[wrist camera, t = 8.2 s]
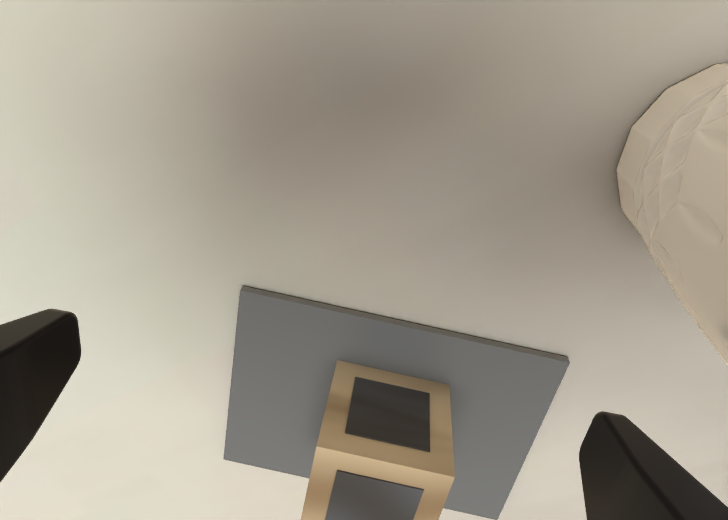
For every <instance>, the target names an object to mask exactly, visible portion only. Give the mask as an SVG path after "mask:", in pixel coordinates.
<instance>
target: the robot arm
mask: <svg viewBox="0 0 728 520" xmlns="http://www.w3.org/2000/svg"><path fill="white" fill-rule="evenodd" d="M80 357H81V345H80V336H79V327H78V320H77V317H76V315H75V314H73V313H72V312H68V311H62V310H57V309H47V310H44V311H41V312H38V313H35V314H32V315H29V316H26V317H23V318H20V319H17V320H14V321H11V322H8V323H5V324H2V325H0V482H1V481H2V479H3V478H4V477H5V475H6V474H7V473H8V471H9V470H10V469H11V467H12V466H13V465H14V464H15V462H16V461H17V460H18V458H19V457H20V456H21V454H22V453H23V452H24V450H25V449H26V447H27V446H28V445H29V443H30V442H31V440H32V439H33V437H34V436H35V434H36V433H37V431H38V430H39V428H40V427H41V425H42V423H43V422H44V420H45V418H46V417H47V415H48V413H49V412H50V410H51V408H52V407H53V405H54V403H55V402H56V400H57V399H58V397H59V395H60V394H61V392H62V390H63V389H64V387H65V385H66V384H67V382H68V380H69V379H70V377H71V375H72V374H73V372H74V370H75V369H76V367H77V365H78V363H79V361H80ZM579 462H580V469H581V477H582V485H583V492H584V500H585V507H586V515H587V520H728V507H727V506H726V505H725V504H723V503H722V502H721V501H720V500H719V499H718V498H717V497H716V496H714V495H713V494H712V493H711V492H710V491H709V490H708V489H707V488H705V487H704V486H703V485H702V484H701V483H700V482H699V481H698V480H696V479H695V478H694V477H693V476H692V475H691V474H690V473H689V472H687V471H686V470H685V469H684V468H683V467H682V466H681V465H680V464H678V463H677V462H676V461H675V460H674V459H673V458H672V457H671V456H669V455H668V454H667V453H666V452H665V451H664V450H663V449H662V448H660V447H659V446H658V445H657V444H656V443H655V442H654V441H653V440H651V439H650V438H649V437H648V436H647V435H646V434H645V433H643V432H642V431H641V430H640V429H639V428H638V427H637V426H636V425H634V424H633V423H632V422H631V421H630V420H629V419H628V418H626V417H625V416H623V415H619V414H614V413H609V412H603V411H602V412H599V413H597V414H596V415H595V417H594V418H593V420H592V423H591V425H590V427H589V429H588V431H587V434H586V436H585V438H584V440H583V442H582V445H581V448H580V453H579Z"/></svg>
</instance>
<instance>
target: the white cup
mask: <svg viewBox="0 0 728 520" xmlns="http://www.w3.org/2000/svg"><path fill="white" fill-rule="evenodd" d="M616 171H617V179H618V187H619V195H620V202H621V209H622V211H623V212H624V213H625V215H626V216H627V217H628V219H629V220H630V221H631V222H632V224H633V225H634V226H635V228H636V229H637V230H638V232H639V233H640V235H641V236H642V238H643V239H644V241H645V243H646V246H647V248H648V250H649V253H650V255H651V257H652V259H653V260H654V261H655V263H656V264H657V266H658V268H659V269H660V271H661V272H662V274H663V275H664V277H665V278H666V280H667V281H668V283H669V284H670V285H671V286H672V288H673V290H674V291H675V293H676V295H677V296H678V298H679V300H680V301H681V303H682V304H683V306H684V307H685V309H686V310H687V311H688V312H689V314H690V315H691V316H692V318H693V319H694V320H695V322H696V323H697V324H698V326H699V327H700V328H701V330H702V331H703V333H704V334H705V335H706V337H707V338H708V339H709V341H710V342H711V344H712V345H713V346H714V348H715V349H716V350H717V352H718V353H719V355H720V356H721V357H722V359H723V360H724V362H725V363H726V364H727V366H728V63H724V64H715V65H713V66H711V67H709V68H707V69H705V70H703V71H701V72H699V73H697V74H695V75H693V76H691V77H689V78H687V79H685V80H683V81H681V82H679V83H677V84H675V85H673V86H671V87H669V88H668V89H666V90H665V91H664V92H663V93H662V95H661V96H660V97H659V98H658V99H657V100H656V101H655V102H654V103H653V104H652V105H651V106H650V108H649V109H648V110H647V111H646V112H645V113H644V114H643V115H642V116H641V117H640V118H639V120H638V121H637V122H636V123H635V124H634V125H633V126H632V128H631V130H630V133H629V136H628V139H627V141H626V144H625V147H624V150H623V152H622V155H621V158H620V161H619V163H618V166H617V169H616Z"/></svg>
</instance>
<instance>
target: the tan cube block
mask: <svg viewBox="0 0 728 520" xmlns="http://www.w3.org/2000/svg"><path fill="white" fill-rule="evenodd" d="M454 478H455V471H454V455H453V438H452V422H451V405H450V388H449V385H446V384H442V383H438V382H433V381H429V380H424V379H420V378H415V377H411V376H406V375H402V374H397V373H393V372H388V371H384V370H379V369H375V368H370V367H366V366H361V365H357V364H353V363H348V362H344V361H339V360H337V363H336V368H335V372H334V376H333V380H332V384H331V388H330V392H329V396H328V401H327V405H326V409H325V413H324V417H323V421H322V425H321V429H320V434H319V438H318V442H317V446H316V451H315V455H314V460H313V465H312V469H311V474H310V479H309V484H308V488H307V493H306V498H305V502H304V507H303V512H302V517H301V520H438V519H439V517H440V514H441V512H442V509H443V506H444V504H445V501H446V499H447V496H448V494H449V491H450V489H451V486H452V483H453V481H454Z"/></svg>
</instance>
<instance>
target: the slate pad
mask: <svg viewBox="0 0 728 520" xmlns="http://www.w3.org/2000/svg"><path fill="white" fill-rule="evenodd" d="M337 360H339V361H344V362H348V363H353V364H357V365H361V366H366V367H370V368H375V369H379V370H384V371H388V372H393V373H397V374H402V375H406V376H411V377H415V378H420V379H424V380H429V381H433V382H438V383H442V384H446V385H449V388H450V405H451V422H452V438H453V455H454V471H455V478H454V481H453V483H452V486H451V489H450V491H449V494H448V496H447V499H446V501H445V504H444V506H443V508H445V509H450V510H454V511H459V512H463V513H468V514H472V515H477V516H481V517H486V518H491V519H495V520H497V519H498V517H499V515H500V513H501V511H502V508H503V506H504V504H505V502H506V500H507V498H508V495H509V493H510V491H511V489H512V487H513V485H514V482H515V480H516V478H517V476H518V474H519V472H520V469H521V467H522V465H523V463H524V461H525V459H526V456H527V454H528V452H529V450H530V448H531V446H532V443H533V441H534V439H535V437H536V435H537V433H538V430H539V428H540V426H541V424H542V422H543V420H544V417H545V415H546V413H547V411H548V409H549V407H550V404H551V402H552V400H553V398H554V396H555V393H556V391H557V389H558V387H559V385H560V383H561V380H562V378H563V376H564V374H565V372H566V370H567V367H568V365H569V363H570V362H569V360H568V357H565V356H561V355H556V354H552V353H547V352H543V351H538V350H533V349H529V348H524V347H520V346H515V345H511V344H506V343H502V342H497V341H492V340H488V339H483V338H479V337H474V336H470V335H465V334H461V333H456V332H451V331H447V330H442V329H438V328H433V327H429V326H424V325H420V324H415V323H410V322H406V321H401V320H397V319H392V318H388V317H383V316H379V315H374V314H369V313H365V312H360V311H356V310H351V309H347V308H342V307H337V306H333V305H328V304H324V303H319V302H315V301H310V300H306V299H301V298H296V297H292V296H287V295H283V294H278V293H274V292H269V291H265V290H260V289H255V288H251V287H246V286H243V287H242V288H241V290H240V296H239V307H238V317H237V327H236V337H235V348H234V358H233V368H232V379H231V389H230V399H229V409H228V420H227V430H226V440H225V450H224V459H225V460H229V461H234V462H238V463H243V464H247V465H252V466H256V467H261V468H265V469H270V470H274V471H279V472H283V473H288V474H292V475H297V476H301V477H306V478H310V474H311V469H312V465H313V460H314V455H315V451H316V446H317V442H318V438H319V434H320V429H321V425H322V421H323V417H324V413H325V409H326V405H327V401H328V396H329V392H330V388H331V384H332V380H333V376H334V372H335V368H336V363H337Z"/></svg>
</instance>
